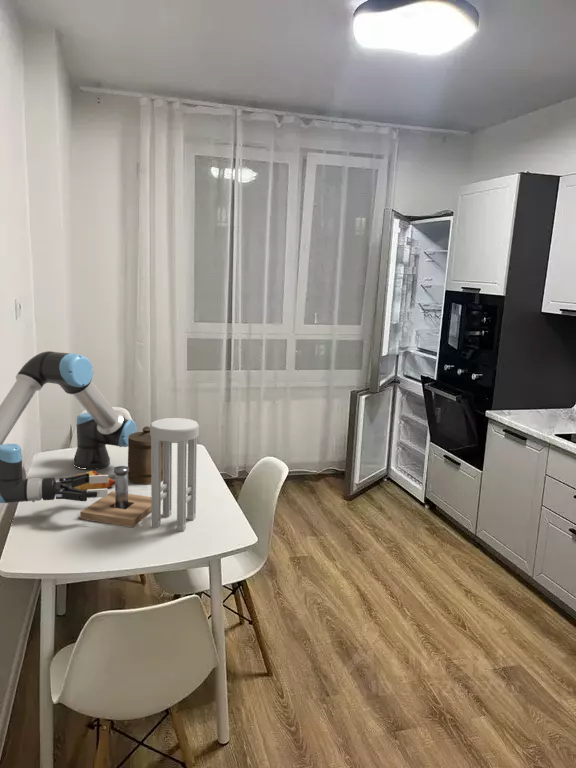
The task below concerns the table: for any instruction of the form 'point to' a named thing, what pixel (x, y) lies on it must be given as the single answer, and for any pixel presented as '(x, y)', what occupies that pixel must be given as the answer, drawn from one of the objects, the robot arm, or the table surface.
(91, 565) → the table surface
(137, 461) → the wooden container
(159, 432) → the stool
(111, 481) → the croissant
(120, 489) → the link pin
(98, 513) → the keeper block
